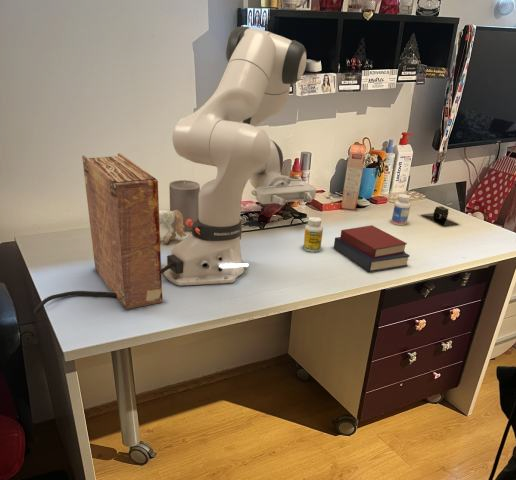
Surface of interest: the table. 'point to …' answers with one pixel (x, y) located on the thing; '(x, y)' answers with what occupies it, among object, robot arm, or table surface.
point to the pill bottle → (401, 210)
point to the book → (125, 228)
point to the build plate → (440, 217)
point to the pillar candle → (184, 200)
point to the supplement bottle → (313, 234)
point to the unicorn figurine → (168, 219)
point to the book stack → (372, 248)
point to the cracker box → (353, 176)
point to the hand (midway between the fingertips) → (296, 201)
